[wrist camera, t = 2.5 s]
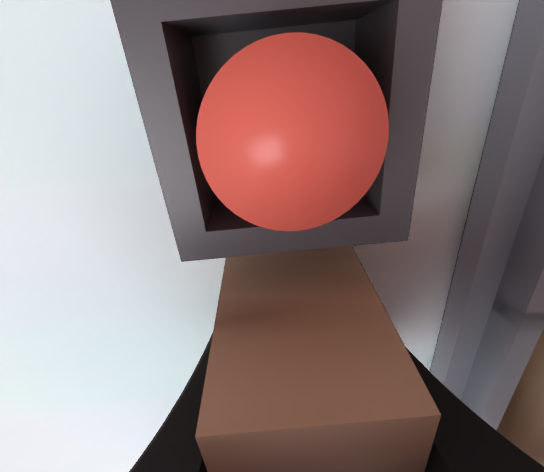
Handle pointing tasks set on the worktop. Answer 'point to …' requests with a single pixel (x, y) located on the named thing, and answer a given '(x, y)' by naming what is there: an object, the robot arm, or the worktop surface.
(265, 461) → the block
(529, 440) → the block
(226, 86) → the button cap
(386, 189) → the button housing
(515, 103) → the grey divided tray
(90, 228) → the worktop surface
